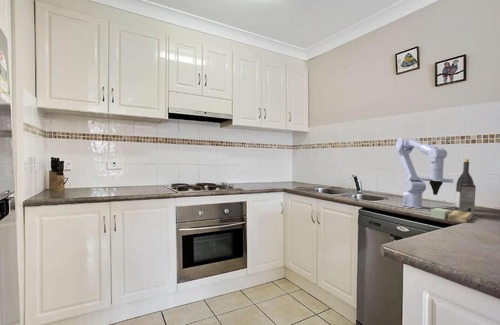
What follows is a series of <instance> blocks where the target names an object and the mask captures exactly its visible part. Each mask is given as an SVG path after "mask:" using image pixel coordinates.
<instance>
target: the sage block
mask: <svg viewBox="0 0 500 325" xmlns="http://www.w3.org/2000/svg"><path fill="white" fill-rule="evenodd" d="M451 212H452V211H451V209H447V208H446V209H445V208H439V207H436V208H434V207H433V208H431V209H430V218H436V219H441V220H448V219H447V218H448V214H449V213H451Z"/></svg>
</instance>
